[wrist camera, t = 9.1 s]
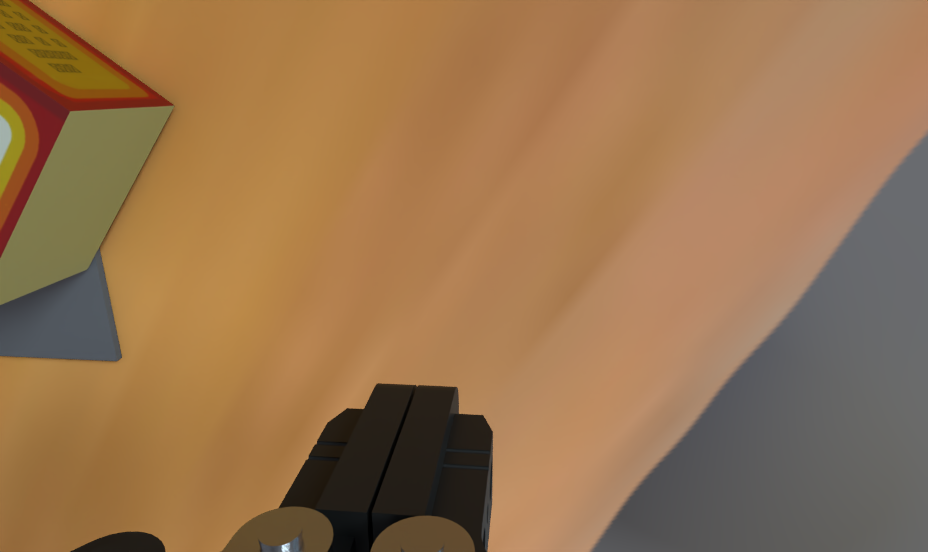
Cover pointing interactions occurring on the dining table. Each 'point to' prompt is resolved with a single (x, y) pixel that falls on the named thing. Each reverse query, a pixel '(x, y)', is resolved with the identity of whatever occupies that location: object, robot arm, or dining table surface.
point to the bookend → (63, 320)
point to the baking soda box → (63, 147)
